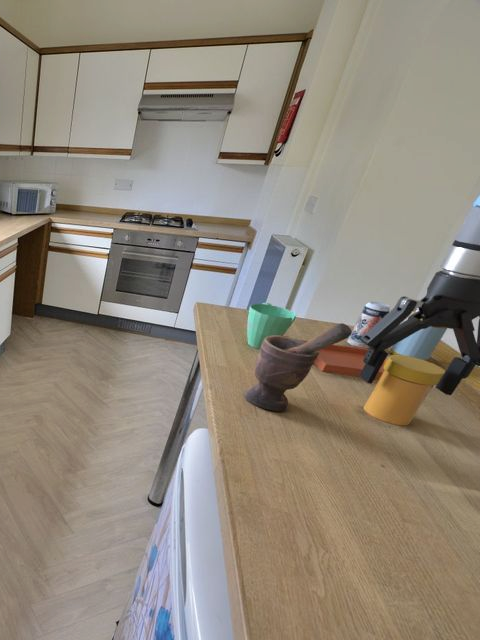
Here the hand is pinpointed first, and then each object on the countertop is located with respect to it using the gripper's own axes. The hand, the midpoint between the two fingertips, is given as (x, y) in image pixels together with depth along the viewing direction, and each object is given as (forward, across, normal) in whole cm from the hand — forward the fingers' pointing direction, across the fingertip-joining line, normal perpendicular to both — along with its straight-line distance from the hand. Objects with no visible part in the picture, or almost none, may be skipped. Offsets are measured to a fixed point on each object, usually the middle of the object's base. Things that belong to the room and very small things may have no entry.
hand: (403, 385), depth 78 cm
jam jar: (+7, 0, 0) cm, 7 cm away
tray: (+7, -5, -24) cm, 25 cm away
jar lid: (-4, 0, 0) cm, 4 cm away
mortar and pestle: (+7, +21, +4) cm, 23 cm away
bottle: (+7, -23, -34) cm, 42 cm away
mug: (+7, +13, -30) cm, 33 cm away
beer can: (+7, -14, -38) cm, 41 cm away
